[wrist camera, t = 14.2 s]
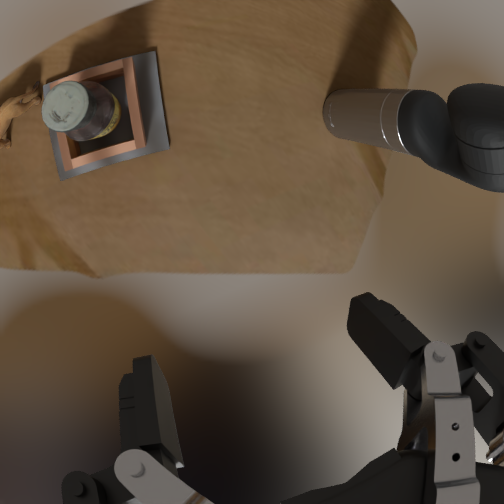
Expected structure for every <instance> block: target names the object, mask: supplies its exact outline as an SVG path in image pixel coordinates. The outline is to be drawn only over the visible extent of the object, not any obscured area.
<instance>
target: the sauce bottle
mask: <svg viewBox="0 0 504 504" xmlns="http://www.w3.org/2000/svg"><path fill="white" fill-rule="evenodd" d="M42 117H43V120H44V122H45V124H46V126H47V127H49V128H50V129H51V130H54V131H56V132H62V133H63V132H64V133H65V134H66V135H67V136H68V137H69V138H71V139H73V140H76V141H86V140H91V139H95V138H98V137H102V136H105V135H107V134H109V133H110V132H112V131H113V130H114V129H115V128H116V126H117V125H118V123H119V121H120V118H121V106H120V103H119V101H118V99H117V98H116V97H115V96H114V95H113V94H112V93H111V92H110V91H109V90H108V89H107V88H105V87H104V86H102V85H101V84H99V83H96V82H92V81H85V82H80V83H79V82H77V81H64V82H61V83H59V84H57V85H56V86H54V87H53V88H52V89H51V90H50V91H49V92H48V93H47V95H46V97H45V99H44V101H43V105H42Z"/></svg>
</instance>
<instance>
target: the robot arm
mask: <svg viewBox="0 0 504 504" xmlns="http://www.w3.org/2000/svg"><path fill="white" fill-rule="evenodd" d="M323 117H324V121H325V124H326V126H327V128H328V130H329V131H330V132H331V133H332V134H333V135H334V136H336V137H338V138H341V139H346V140H351V141H355V142H360V143H364V144H369V145H373V146H377V147H382V148H386V149H390V150H394V151H397V152H402V153H405V154H409V155H413V156H416V157H419V158H421V159H422V160H423V161H424V162H425V163H426V164H428V165H429V166H431V167H433V168H434V169H437V170H439V171H442V172H444V173H446V174H449V175H451V176H453V177H456V178H458V179H460V180H462V181H464V182H466V183H469V184H471V185H473V186H476V187H479V188H481V189H484V190H488V191H493V192H502V193H503V192H504V86H499V85H493V84H484V83H477V84H467V85H463V86H460V87H458V88H456V89H454V90H453V91H452V92H451V93H450V95H449V96H448V100H447V103H446V102H445V101H444V100H443V99H442V98H441V97H440V96H439V95H437V94H436V93H434V92H431V91H426V90H411V89H341V90H336V91H334V92H332V93H331V94H330V95H329V96H328V98H327V99H326V101H325V104H324V108H323ZM347 330H348V333H349V335H350V337H351V338H352V340H353V341H354V342H355V343H356V344H357V346H358V347H359V348H360V349H361V351H362V352H363V353H364V354H365V355H366V356H367V358H368V359H369V360H370V361H371V363H372V364H373V365H374V366H375V368H376V369H377V370H378V371H379V373H381V375H382V376H383V377H384V379H385V380H386V381H387V382H388V384H389V385H390V386H391V387H392V389H393V390H394V389H396V388H398V387H399V386H401V385H403V386H404V387H405V390H404V396H403V397H404V399H403V427H402V432H401V435H400V438H399V441H398V445H397V451H396V450H395V448H393V449H391V450H390V451H388V452H386V453H385V454H383V455H382V456H380V457H378V458H376V459H374V460H373V461H371V462H369V464H367V465H366V466H365V467H364V468H363V469H362V470H361V471H359V472H358V473H357V474H356V475H355V476H353V477H352V478H351V479H350V480H349V481H348V482H346V483H343V484H340V485H335V486H331V487H326V488H321V489H315V490H311V491H308V492H306V493H303V494H300V495H298V496H295V497H292V498H290V499H287V500H284V501H281V502H280V504H504V352H502V350H500V348H499V347H498V346H497V345H496V344H495V343H494V342H493V341H492V340H491V339H490V338H489V337H488V336H487V335H485V334H483V333H481V332H477V331H475V332H471V333H469V335H468V336H467V338H466V340H465V342H464V343H460V344H456V345H453V346H449V345H448V344H446V343H444V342H441V341H434V342H431V341H430V340H429V339H428V338H427V337H425V336H424V335H423V334H422V333H421V332H420V331H419V330H418V329H417V328H416V327H415V326H414V325H413V324H412V323H411V322H410V321H409V320H407V319H406V317H404V315H402V314H400V312H399V311H398V310H397V309H396V308H395V307H394V306H393V305H391V304H389V303H387V302H385V301H383V300H378V299H377V298H376V297H375V296H374V295H373V294H371V293H369V292H366V293H364V294H361V295H358V296H356V297H353V298H352V299H351V302H350V308H349V315H348V320H347ZM478 372H479V374H480V375H481V376H482V377H483V378H484V379H485V380H486V382H487V383H488V384H489V385H490V386H491V387H492V389H493V397H491V396H490V395H489V394H488V393H487V392H486V390H485V389H484V388H483V387H482V386H481V384H480V383H479V382H478V381H477V380H476V379H475V376H476V374H477V373H478ZM119 400H120V401H119V409H120V412H119V417H120V435H121V453H120V456H119V457H118V458H117V459H116V462H115V463H114V464H113V465H112V466H111V467H109V468H107V469H104V470H102V471H99V472H97V473H94V474H91V475H88V474H86V473H84V472H81V471H74V472H71V473H69V474H67V475H66V477H65V478H64V479H63V482H62V497H63V504H214V503H212V502H211V501H209V500H207V499H206V498H205V497H203V496H202V495H200V494H199V493H197V492H196V491H194V490H193V489H192V488H190V487H189V486H187V485H186V484H185V483H183V482H182V481H181V480H180V479H179V477H178V473H177V469H176V468H179V467H184V463H183V459H182V455H181V450H180V446H179V441H178V436H177V431H176V426H175V421H174V416H173V410H172V405H171V399H170V393H169V389H168V385H167V382H166V380H165V378H164V376H163V374H162V371H161V370H160V368H159V366H158V364H157V362H156V359H155V357H154V356H153V355H147V356H143V357H137V358H134V359H133V373H129V374H125V375H124V376H123V378H122V380H121V383H120V385H119ZM474 427H475V428H476V429H477V431H478V432H479V433H480V435H481V436H482V438H483V439H484V440H485V442H486V443H487V444H488V446H489V451H488V452H487V454H486V459H487V460H488V461H493V464H486V463H479V462H475V438H474Z"/></svg>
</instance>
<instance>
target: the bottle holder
mask: <svg viewBox="0 0 504 504" xmlns="http://www.w3.org/2000/svg"><path fill="white" fill-rule="evenodd" d="M64 81H77V82H79V83H80V82H85V81H92V82H96V83H99V84H101V85H102V86H104V87H105V88H107V89H108V90H109V91H110V92H111V93H112V94H113V95H114V96H115V97H116V98H117V99H118V101H119V103H120V106H121V118H120V121H119V123H118V125H117V126H116V128H115V129H114V130H113V131H112V132H110V133H109V134H107V135H105V136H102V137H98V138H95V139H91V140H86V141H76V140H73V139H71V138H69V137H68V136H67V135H66V134H65V133H64V132H63V133H62V132H56V131H54V130H51V129H50V128H49V132H50V138H51V143H52V147H53V152H54V157H55V161H56V165H57V169H58V173H59V177H60V181H62V180H65V179H68V178H71V177H74V176H76V175H79V174H82V173H85V172H88V171H91V170H94V169H98V168H101V167H104V166H107V165H111V164H114V163H117V162H121V161H124V160H128V159H132V158H135V157H139V156H143V155H147V154H151V153H155V152H159V151H163V150H167V149H170V148H169V142H168V137H167V131H166V125H165V119H164V112H163V106H162V99H161V92H160V85H159V78H158V70H157V62H156V54H155V51H152V52H147V53H142V54H138V55H133V56H129V57H125V58H121V59H118V60H114V61H110V62H107V63H104V64H100V65H97V66H94V67H91V68H88V69H85V70H82V71H79V72H76V73H73V74H71V75H68V76H65V77H63V78H60V79H58V80H55V81H53V82H51V83H48V84H46V85H44V86H43V92H44V99H45V97H46V95H47V93H48V92H49V91H50V90H51V89H52V88H53V87H54V86H56V85H57V84H59V83H61V82H64Z"/></svg>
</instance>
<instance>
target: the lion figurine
mask: <svg viewBox="0 0 504 504" xmlns="http://www.w3.org/2000/svg"><path fill="white" fill-rule="evenodd" d="M38 86H39V82H38V81H37V82H36V84H35V85H34V87H33V90H32V91H30V92H28V93H26V94H22V95H20V96H18V97H11V98H9V99H7V100H6V101H5V102H4V103H3V104H2V105H1V107H0V149H1V148H3V147H4V146H5V148H9V147H11V141H10V140H9V139H5V140H3V139H1V138H2V137H3V135H4V134H5V132H6V130H7V129H8V127H9V125H10V123H11V119H12V118H14V117H17V116H20V115H21V114H23V113H24V112H26V111H27V110H28V109H29V108H30V107H31V106H32V105H33V104H34V105H39V104H40V103H41V98H40V97H38V96H37V97H34V98H33V99H32V100H31V101H29V102H27V103H21V101H22V99H23V98H25V97H28V96H29V95H31V94H33V93H34V92H35V90H36V89H37V87H38Z"/></svg>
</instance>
